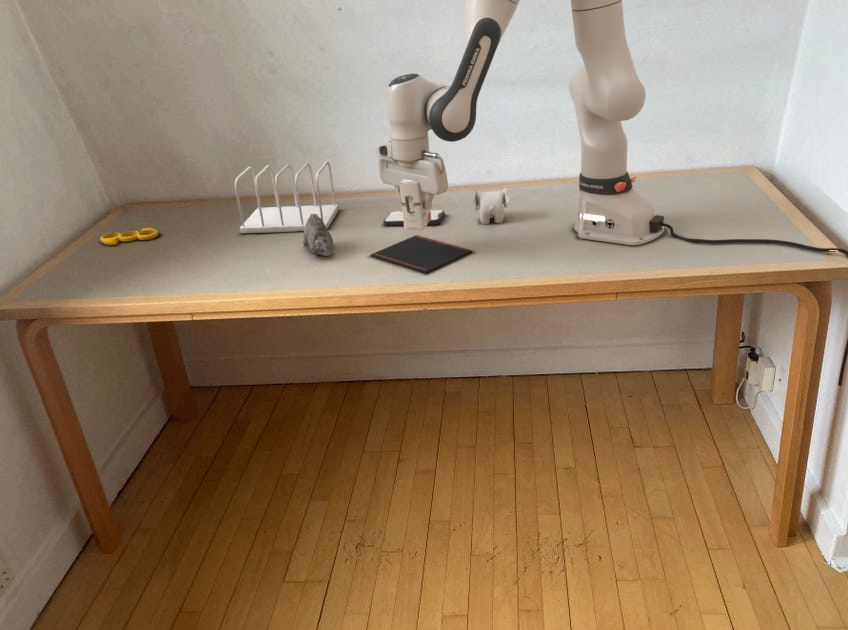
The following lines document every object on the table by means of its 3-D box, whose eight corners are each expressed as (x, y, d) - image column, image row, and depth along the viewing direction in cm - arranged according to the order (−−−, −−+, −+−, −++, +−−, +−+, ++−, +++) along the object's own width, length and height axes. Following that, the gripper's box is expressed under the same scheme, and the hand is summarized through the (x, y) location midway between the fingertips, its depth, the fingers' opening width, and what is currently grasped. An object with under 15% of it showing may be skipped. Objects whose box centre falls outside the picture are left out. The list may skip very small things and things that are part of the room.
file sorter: (240, 234, 218) (228, 180, 211) (258, 214, 233) (248, 163, 226) (326, 230, 215) (317, 175, 207) (339, 210, 230) (331, 158, 222)
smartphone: (383, 227, 214) (439, 225, 210) (382, 221, 213) (438, 220, 209) (391, 216, 222) (445, 214, 218) (390, 211, 221) (445, 209, 217)
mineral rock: (328, 262, 194) (322, 224, 189) (289, 262, 196) (282, 224, 191) (345, 244, 204) (340, 207, 199) (308, 243, 207) (301, 207, 202)
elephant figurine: (507, 210, 216) (506, 179, 212) (510, 225, 206) (509, 192, 201) (473, 213, 217) (471, 182, 212) (474, 228, 206) (472, 195, 202)
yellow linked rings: (152, 242, 219) (163, 230, 228) (151, 237, 218) (162, 225, 227) (95, 247, 220) (108, 235, 228) (94, 242, 219) (106, 230, 228)
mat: (472, 252, 191) (472, 250, 191) (426, 274, 182) (426, 271, 181) (416, 237, 204) (416, 234, 204) (370, 256, 195) (370, 254, 194)
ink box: (412, 218, 194) (408, 171, 188) (431, 219, 192) (428, 172, 187) (402, 230, 186) (398, 182, 180) (422, 231, 185) (419, 182, 179)
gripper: (451, 150, 175) (455, 209, 182) (391, 140, 188) (397, 196, 195) (432, 157, 172) (437, 217, 178) (371, 146, 185) (378, 202, 191)
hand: (415, 206), depth 187 cm, fingers closed on ink box, 7 cm apart
